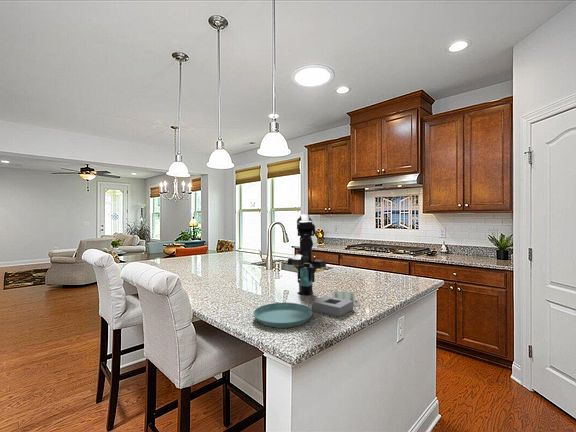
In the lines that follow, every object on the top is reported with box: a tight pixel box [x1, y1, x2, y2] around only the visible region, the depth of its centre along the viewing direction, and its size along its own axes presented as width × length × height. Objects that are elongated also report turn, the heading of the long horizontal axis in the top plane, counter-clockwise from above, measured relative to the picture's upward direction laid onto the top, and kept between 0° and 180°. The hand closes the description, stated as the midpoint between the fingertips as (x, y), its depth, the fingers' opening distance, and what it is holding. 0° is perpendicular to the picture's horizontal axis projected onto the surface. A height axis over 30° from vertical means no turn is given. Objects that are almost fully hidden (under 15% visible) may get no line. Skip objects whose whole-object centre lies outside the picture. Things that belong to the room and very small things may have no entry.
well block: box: [311, 295, 354, 318], centre depth 132 cm, size 14×12×4 cm
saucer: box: [253, 302, 314, 329], centre depth 123 cm, size 24×24×3 cm
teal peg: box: [299, 267, 313, 287], centre depth 141 cm, size 4×4×8 cm
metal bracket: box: [331, 289, 361, 308], centre depth 145 cm, size 14×6×15 cm
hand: (306, 280), depth 141 cm, fingers closed on teal peg, 4 cm apart
